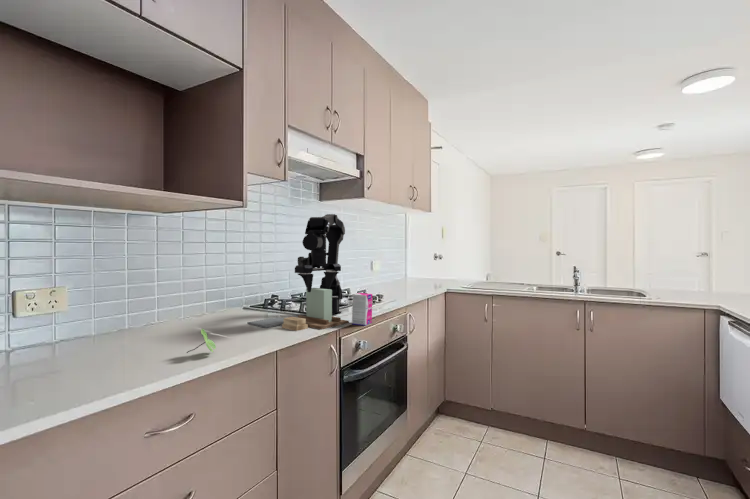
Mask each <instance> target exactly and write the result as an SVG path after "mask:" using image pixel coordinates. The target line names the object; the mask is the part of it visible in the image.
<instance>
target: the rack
mask: <svg viewBox="0 0 750 499" xmlns="http://www.w3.org/2000/svg"><path fill="white" fill-rule="evenodd" d="M297 318H304V319H306V324H308V328H312V329H315V330H317V329H318V330H325V329H329V328H333V327H338V326H342V325H346V324H350V323H349V322H350V320H346V319H341V317H338V316H333V315H332V322H329V320H325V319H320V318H314V317H308V316H306V315H302V314H301V315H300V314H299V315H297Z"/></svg>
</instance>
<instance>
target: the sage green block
mask: <svg viewBox="0 0 750 499" xmlns="http://www.w3.org/2000/svg"><path fill="white" fill-rule="evenodd" d="M305 291H306V292H305V294H306V296H305V297H306V298H305V300H306V303H305V305H306V306H305V307H306V308H305V310H306V313H305V316H308V317H314V318H320V319H325V320H329V322H332V316H333V314H332V290H331V289H321V288H320V287H312V288H311V292H308V290H307V288H306V289H305Z"/></svg>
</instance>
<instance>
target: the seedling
mask: <svg viewBox="0 0 750 499" xmlns="http://www.w3.org/2000/svg"><path fill="white" fill-rule="evenodd" d="M200 334H201V335H202V337H203V339H204V342H203V343H201V344H199V345H198V346H196V347H195V348H194V349H191V350H188V351H187V352H186V353H185V354H188V353H190V352H192V351H195V350H197V349H198V348H199V347H201V346H203V345H204V344H206V347H207V349H208V350H209V351H210V352H212V353H214V350H216V348H217V345H216V343H215V342H214V341H213V340H212V339H210V338H209V337H208V334H207V332H206V330H205V329H204V328H201V329H200Z"/></svg>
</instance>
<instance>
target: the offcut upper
mask: <svg viewBox="0 0 750 499" xmlns="http://www.w3.org/2000/svg"><path fill="white" fill-rule="evenodd" d="M283 318H284V324H287V325H293V326H301V325H305V324H306V319H304V318H298V316H296V317H295V316H288V317H283Z"/></svg>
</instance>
